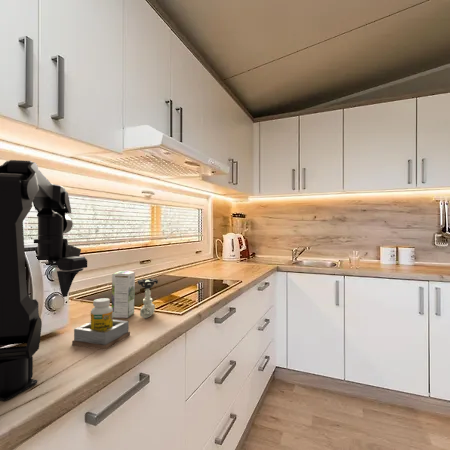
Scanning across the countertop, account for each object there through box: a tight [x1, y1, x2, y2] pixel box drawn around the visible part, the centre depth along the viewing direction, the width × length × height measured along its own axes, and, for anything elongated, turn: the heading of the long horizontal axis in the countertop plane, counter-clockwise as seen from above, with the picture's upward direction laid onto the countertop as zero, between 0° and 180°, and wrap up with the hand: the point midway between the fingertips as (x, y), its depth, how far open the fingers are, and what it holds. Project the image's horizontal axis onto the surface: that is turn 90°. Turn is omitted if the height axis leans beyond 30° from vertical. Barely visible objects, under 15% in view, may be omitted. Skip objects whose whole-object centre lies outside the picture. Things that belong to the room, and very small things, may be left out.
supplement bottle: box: [90, 297, 114, 331], centre depth 80 cm, size 5×5×10 cm
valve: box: [137, 278, 159, 319], centre depth 101 cm, size 7×7×12 cm
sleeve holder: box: [71, 319, 131, 351], centre depth 80 cm, size 10×10×4 cm
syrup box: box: [111, 270, 136, 319], centre depth 101 cm, size 6×6×14 cm
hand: (50, 295), depth 79 cm, fingers open, 9 cm apart
